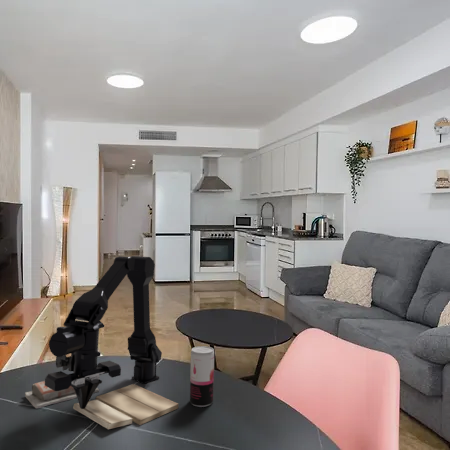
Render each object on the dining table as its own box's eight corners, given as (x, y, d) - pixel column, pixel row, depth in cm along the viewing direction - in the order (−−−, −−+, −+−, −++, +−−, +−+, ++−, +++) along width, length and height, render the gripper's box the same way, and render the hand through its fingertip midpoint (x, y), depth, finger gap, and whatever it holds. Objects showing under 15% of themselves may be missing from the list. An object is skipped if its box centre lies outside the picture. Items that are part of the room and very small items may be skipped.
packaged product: (85, 367, 132) (99, 377, 125) (85, 383, 132) (99, 393, 125) (24, 381, 120) (36, 392, 113) (24, 398, 120) (35, 410, 113)
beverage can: (217, 403, 118) (218, 350, 118) (198, 409, 114) (199, 354, 114) (204, 395, 124) (205, 344, 123) (185, 401, 120) (186, 348, 119)
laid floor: (133, 387, 128) (133, 383, 128) (178, 408, 115) (178, 403, 115) (95, 401, 118) (95, 396, 118) (140, 425, 105) (140, 420, 105)
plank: (96, 404, 116) (97, 399, 116) (131, 423, 106) (132, 418, 106) (73, 408, 111) (73, 403, 111) (108, 429, 100) (108, 423, 101)
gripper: (100, 336, 121) (97, 390, 121) (36, 346, 107) (32, 408, 107) (123, 344, 114) (120, 402, 114) (58, 356, 100) (53, 423, 100)
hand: (82, 408), depth 109 cm, fingers closed, pressing on plank
